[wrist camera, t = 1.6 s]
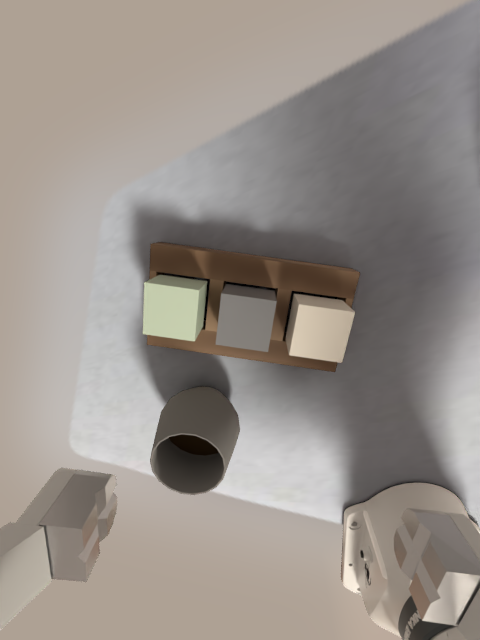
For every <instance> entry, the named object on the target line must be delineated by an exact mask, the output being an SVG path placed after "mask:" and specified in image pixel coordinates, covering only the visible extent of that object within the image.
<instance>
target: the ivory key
mask: <svg viewBox="0 0 480 640" xmlns="http://www.w3.org/2000/svg"><path fill="white" fill-rule="evenodd" d="M354 315H355V312H354V311H353V310H352V309H351V308H350V307H349V306H348V305H347V304H346V303H345V302H344V301H343V300H337V299H330V298H323V297H316V296H309V295H302V294H295V293H294V296H293V301H292V306H291V311H290V317H289V322H288V327H287V333H286V338H285V339H286V343H287V348H288V353H289V355H291V356H298V357H305V358H312V359H318V360H325V361H332V362H339V363H342V361H343V357H344V354H345V350H346V346H347V342H348V338H349V334H350V330H351V326H352V323H353V319H354Z"/></svg>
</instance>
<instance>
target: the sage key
mask: <svg viewBox="0 0 480 640" xmlns="http://www.w3.org/2000/svg"><path fill="white" fill-rule="evenodd" d="M206 290H207V281H202V280H195V279H188V278H181V277H174V276H167V275H158V276H156V277H154V278H152V279H150V280H148V281H146V282H144V309H143V334H146V335H153V336H160V337H167V338H174V339H180V340H187V341H194V342H195V340H196V338H197V336H198V335H199V333H200V331H201V329H202V327H203V321H204V311H205V301H206Z"/></svg>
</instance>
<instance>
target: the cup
mask: <svg viewBox="0 0 480 640" xmlns="http://www.w3.org/2000/svg"><path fill="white" fill-rule="evenodd" d="M239 432H240V426H239V418H238V414H237V412H236V411H235V409H234V407H233V405H232V404H231V402H230V401H229V400H228V399H227V398H226V397H225V396H224V395H223V394H222V393H221V392H219V391H218V390H216V389H213V388H211V387H204V386H200V387H195V388H191V389H187V390H183V391H181V392H180V393H178V394H177V395H175V396H173V397H172V398H171V399H170V400H169V401H168V402H167V404H166V405H165V407H164V408H163V410H162V411H161V415H160V419H159V423H158V427H157V432H156V436H155V440H154V444H153V449H152V453H151V459H150V463H151V467H152V471H153V473H154V474H155V476H156V477H157V479H158V480H159V481H160V482H161V483H162V484H163V485H165V486H166V487H167V488H169V489H171V490H173V491H176V492H178V493H181V494H190V495H196V494H202V493H206V492H208V491H210V490H212V489H214V488H216V487H217V486H218V484H219V483H220V482H221V481H222V480H223V478H224V475H225V472H226V470H227V467H228V464H229V461H230V459H231V456H232V453H233V450H234V448H235V445H236V442H237V439H238V435H239Z"/></svg>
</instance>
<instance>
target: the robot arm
mask: <svg viewBox="0 0 480 640" xmlns="http://www.w3.org/2000/svg"><path fill="white" fill-rule="evenodd" d="M116 485H117V483H116V476H115V475H111V474H104V473H97V472H91V471H83V470H75V469H68V468H60V469H59V470H57V471H56V472H55V473H54V474H53V475H52V477H51V478H50V479H49V481H48V482H47V483H46V484H45V486H44V487H43V488H42V489H41V491H40V492H39V493H38V495H37V496H36V497H35V498H34V500H33V501H32V502H31V504H30V505H29V506H28V508H27V509H26V510H25V511H24V513H23V514H22V515H21V517H20V518H19V519H18V520H17V522H16V523H8V524H7V525H5V526H3V527H2V528H0V630H1V629H2V628H3V627H4V626H5V625H6V624H7V623H9V621H11V620H12V619H13V618H14V617H15V616H16V615H17V614H18V613H19V612H20V611H21V610H22V609H23V608H24V607H25V606H26V605H27V604H28V603H30V602H31V601H32V600H33V599H34V598H35V597H36V596H37V595H38V594H39V593H40V592H41V591H42V590H43V589H44V588H45V587H47V586H48V585H49V584H50V583H51V582H52V579H58V580H71V581H83V582H87V580H88V578H89V575H90V574H91V571H92V569H93V567H94V564H95V563H96V560H97V558H98V556H99V554H100V549H99V542H100V541H102V540H103V539H104V538H105V537H106V536H108V534H109V532H110V529H111V527H112V525H113V521H114V517H115V514H116V510H117V496H116V495H115V494H114V492H113V491H114V489H115V487H116ZM341 580H342V582H343V585H344V586H345V587H346V588H347V589H349V590H351V591H352V592H354V593H356V594H359V595H361V596H362V597H363V601H364V604H365V607H366V610H367V612H368V615H369V616H370V618H371V619H372V620H373V621H374V622H375V623H376V624H377V625H378V626H380V627H382V628H384V629H386V630H388V631H390V632H391V633H393V634H395V635H397V636H399V637H401V638H402V639H403V640H480V528H479V527H478V525H477V524H476V523H474V522H473V521H472V520H471V519H470V518H469V516H468V514H467V512H466V510H465V507H464V505H463V503H462V502H461V500H460V499H459V498H458V497H457V496H456V495H455V494H453V493H452V492H451V491H449V490H447V489H445V488H443V487H440V486H437V485H433V484H428V483H406V484H401V485H397V486H393V487H391V488H388V489H386V490H384V491H382V492H380V493H378V494H377V495H375V496H374V497H372V498H371V499H370V500H368V501H366V502H364V503H360V504H356V505H353V506H351V507H348V508H347V509H346V510H345V511H344V523H343V543H342V565H341Z"/></svg>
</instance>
